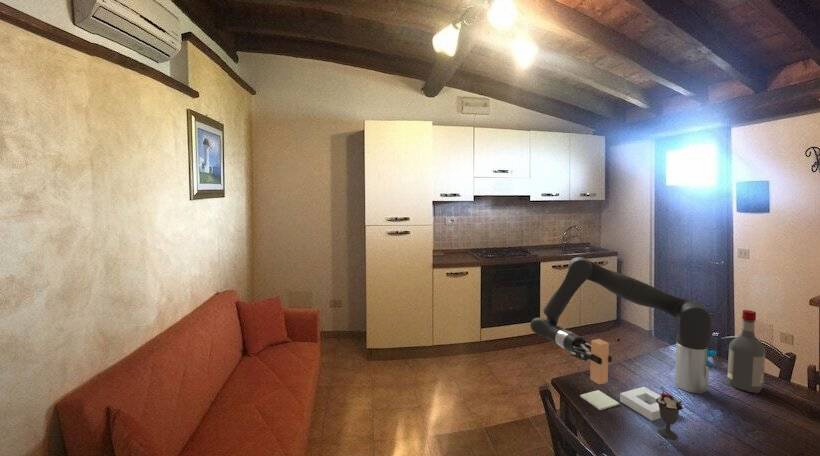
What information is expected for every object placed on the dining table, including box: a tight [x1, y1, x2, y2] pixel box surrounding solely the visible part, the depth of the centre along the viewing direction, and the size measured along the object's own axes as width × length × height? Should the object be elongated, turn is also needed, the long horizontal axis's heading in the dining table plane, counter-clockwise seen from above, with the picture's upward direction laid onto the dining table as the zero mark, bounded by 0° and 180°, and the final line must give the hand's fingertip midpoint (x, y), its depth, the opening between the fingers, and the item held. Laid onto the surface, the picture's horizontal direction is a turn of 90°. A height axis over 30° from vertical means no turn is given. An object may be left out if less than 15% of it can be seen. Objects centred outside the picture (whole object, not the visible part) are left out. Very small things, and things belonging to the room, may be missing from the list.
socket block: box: [619, 386, 661, 422], centre depth 121 cm, size 12×12×3 cm
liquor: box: [726, 309, 766, 394], centre depth 131 cm, size 9×9×30 cm
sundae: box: [656, 386, 684, 440], centre depth 107 cm, size 7×7×15 cm
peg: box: [589, 338, 610, 385], centre depth 125 cm, size 4×4×15 cm
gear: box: [706, 349, 718, 368], centre depth 149 cm, size 11×6×10 cm
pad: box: [579, 389, 620, 411], centre depth 126 cm, size 9×9×1 cm
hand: (606, 360), depth 122 cm, fingers closed on peg, 4 cm apart
